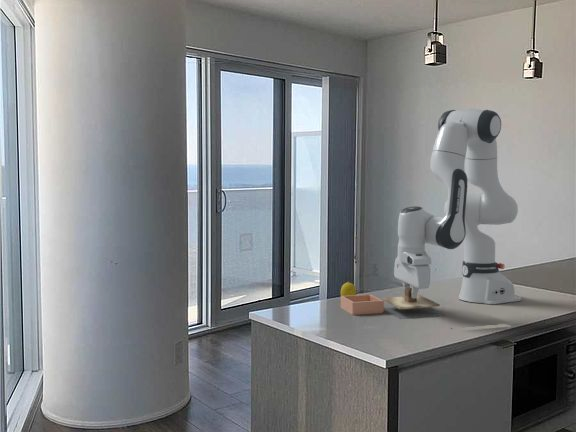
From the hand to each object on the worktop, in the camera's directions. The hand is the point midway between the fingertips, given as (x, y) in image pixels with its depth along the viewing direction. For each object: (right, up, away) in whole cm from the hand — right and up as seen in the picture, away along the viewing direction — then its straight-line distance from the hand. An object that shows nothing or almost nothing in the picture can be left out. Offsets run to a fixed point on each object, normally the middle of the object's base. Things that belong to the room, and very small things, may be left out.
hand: (410, 296), depth 209 cm
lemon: (-19, -5, +17) cm, 26 cm away
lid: (0, -2, 0) cm, 2 cm away
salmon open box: (-16, -6, +2) cm, 17 cm away
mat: (0, -6, -1) cm, 6 cm away
